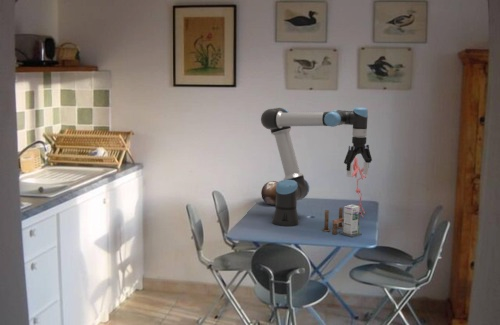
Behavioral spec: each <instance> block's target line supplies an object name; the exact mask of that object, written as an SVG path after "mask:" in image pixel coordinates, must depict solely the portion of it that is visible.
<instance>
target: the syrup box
mask: <svg viewBox="0 0 500 325" xmlns="http://www.w3.org/2000/svg"><path fill="white" fill-rule="evenodd" d="M359 206H360V205H357V204H348V205H344V207H343V218H344V222H343V226H344V228H343V231H344V233H347V234H351V235H352V234H356V233H360V231H359V228H360V211H359V209H360V210H361V206H360V207H359Z"/></svg>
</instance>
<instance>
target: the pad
mask: <svg viewBox="0 0 500 325" xmlns="http://www.w3.org/2000/svg"><path fill="white" fill-rule="evenodd" d="M339 235H343V236H346V237H350V238H355V237H358V236H362V232H359V233H356V234H352V235H351V234H347V233H344V230H343V231H340V232H339Z"/></svg>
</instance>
